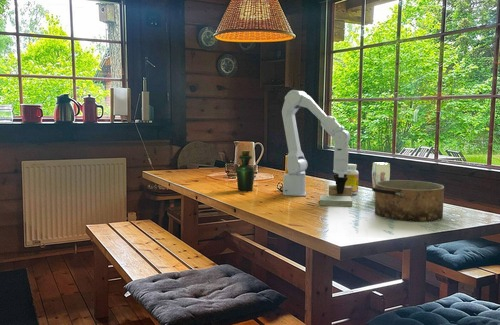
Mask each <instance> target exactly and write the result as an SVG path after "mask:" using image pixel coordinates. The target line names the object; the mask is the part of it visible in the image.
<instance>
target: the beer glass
mask: <svg viewBox="0 0 500 325" xmlns="http://www.w3.org/2000/svg"><path fill="white" fill-rule="evenodd" d="M390 172H391V163H389V162H380V161H379V162H378V161H377V162H372V170H371V178H372V179H371V180H372V188H376V182H379V181H386V180H390V177H391V173H390ZM375 193H376V192H375V191H372V198H371V199H372V201H374V202H375Z"/></svg>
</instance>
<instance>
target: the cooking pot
mask: <svg viewBox="0 0 500 325" xmlns="http://www.w3.org/2000/svg"><path fill="white" fill-rule="evenodd" d="M371 191H372V192H373V191H375V192H376V193H375V201H374V212H375V214H376V215H377V216H378V217H381V218H384V219H388V218H389V220H394V221H400V222H409V223H410V222H411V223H412V222H413V223H429V221H430V222H435V221H436V220H437V221H440V220H441V219H442V218H443V216H444V197H445V196H444V195H445V184H442V183H437V182H431V181H421V180H408V179H406V180H404V179H391V180H390V179H389V180H386V181H379V182H376V188H373V187H372V188H371ZM439 219H440V220H439Z"/></svg>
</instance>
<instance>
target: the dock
mask: <svg viewBox="0 0 500 325" xmlns="http://www.w3.org/2000/svg"><path fill="white" fill-rule="evenodd" d="M319 205H320V206H330V207H331V206H333V207H334V206H335V207H339V206H340V207H353V198H352V195H351V196H329V195H324V194H323V195H320V196H319Z"/></svg>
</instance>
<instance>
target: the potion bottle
mask: <svg viewBox="0 0 500 325" xmlns="http://www.w3.org/2000/svg"><path fill="white" fill-rule="evenodd" d="M240 151H241V155H239V157H238V159H240V161H241V164H240V165H239V166H237V167H236V169H235V170H236V181H237V182H236V184H237V190H240V191H251V192H253V190H254V189H253V188H254V179H255V168H254V167H253V166H252V165H250V162H251V161H250V160H251V159H253V156H252V155H251V154H250V152H251V150H248V149H244V150H243V149H242V150H240ZM240 191H239V192H240Z"/></svg>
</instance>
